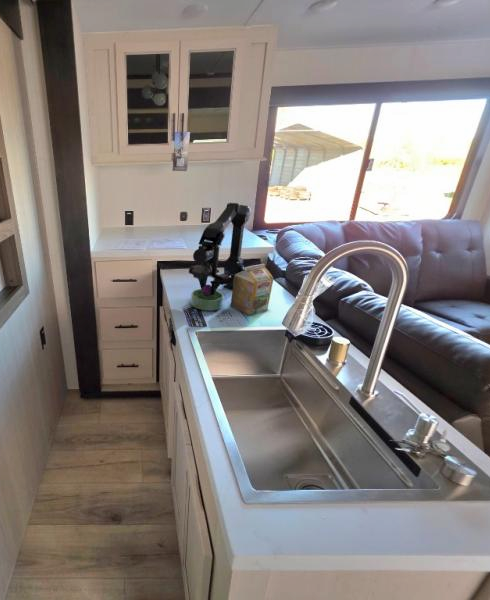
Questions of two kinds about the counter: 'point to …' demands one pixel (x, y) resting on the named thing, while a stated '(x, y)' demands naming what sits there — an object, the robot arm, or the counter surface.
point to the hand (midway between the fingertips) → (207, 293)
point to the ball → (206, 290)
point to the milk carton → (252, 290)
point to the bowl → (206, 300)
